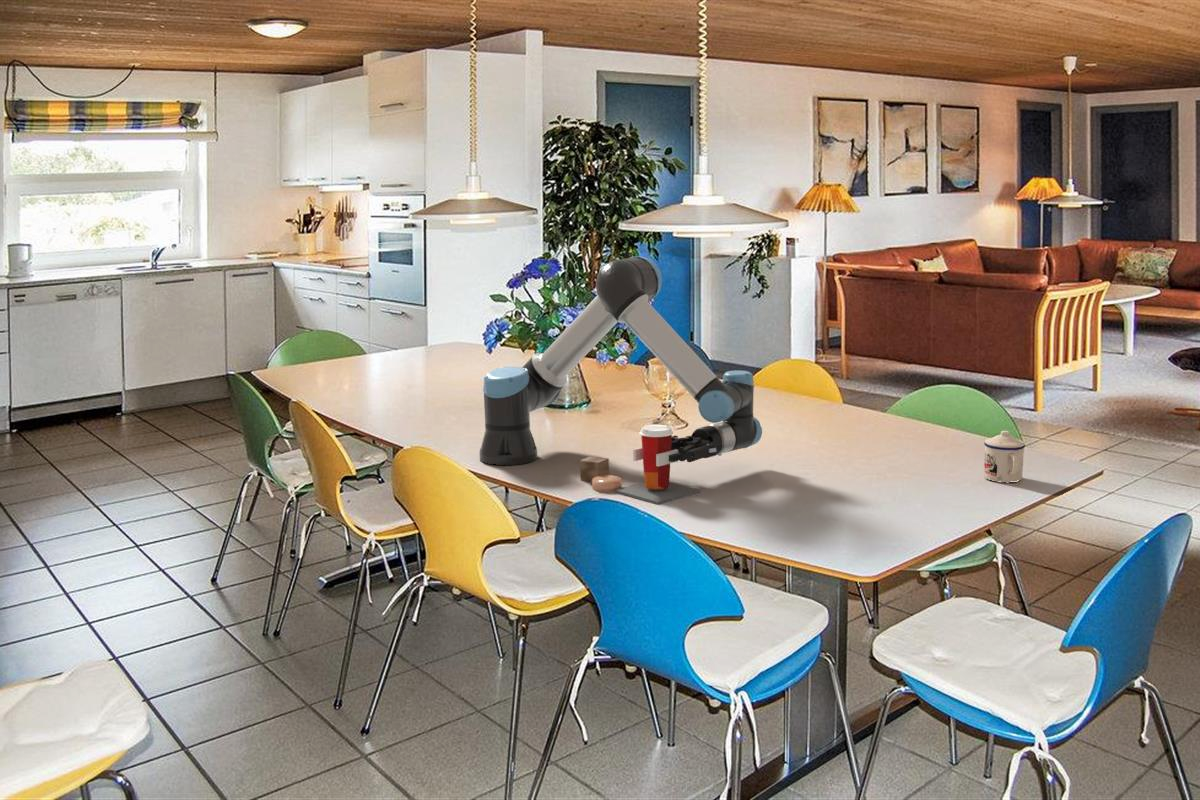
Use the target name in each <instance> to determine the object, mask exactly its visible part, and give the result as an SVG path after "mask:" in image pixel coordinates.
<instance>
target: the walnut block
mask: <svg viewBox="0 0 1200 800" xmlns="http://www.w3.org/2000/svg"><path fill="white" fill-rule="evenodd" d="M609 462H610V460H609V457H602V456H596V455H595V456H594V455H590V456H587V457H586V458H585V457H584V458H583V459H580V462H579V463H580V464H579V465H580V481H586V482H590V483H592V479H593V478H595V477H597V476H602V475H610V468H609V467H610V466H609V465H610V464H609Z"/></svg>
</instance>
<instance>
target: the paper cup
mask: <svg viewBox="0 0 1200 800" xmlns="http://www.w3.org/2000/svg"><path fill="white" fill-rule="evenodd" d="M638 433H639V435H640V436H641V437H640V438H641V447H642V453H643V459H642V465H643V480H644V481H645V487H646V488H648V489H655V490H658V489H666V488H668V487H669V482H670V474H671V463H670V464H666V465H663V466H659V467H658V466H656V454H660V453H664V452H668V451H671V440H672V436H673V434H674V432H673V430H672V429H671V426H669V425H665V424H647V425H644V426H642V427H641V429H640V432H638Z"/></svg>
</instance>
